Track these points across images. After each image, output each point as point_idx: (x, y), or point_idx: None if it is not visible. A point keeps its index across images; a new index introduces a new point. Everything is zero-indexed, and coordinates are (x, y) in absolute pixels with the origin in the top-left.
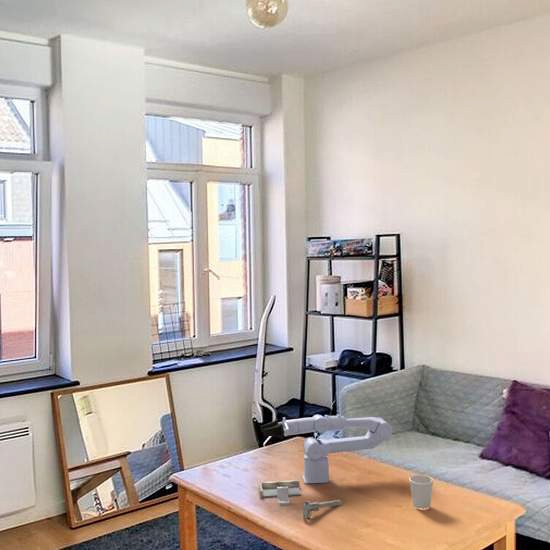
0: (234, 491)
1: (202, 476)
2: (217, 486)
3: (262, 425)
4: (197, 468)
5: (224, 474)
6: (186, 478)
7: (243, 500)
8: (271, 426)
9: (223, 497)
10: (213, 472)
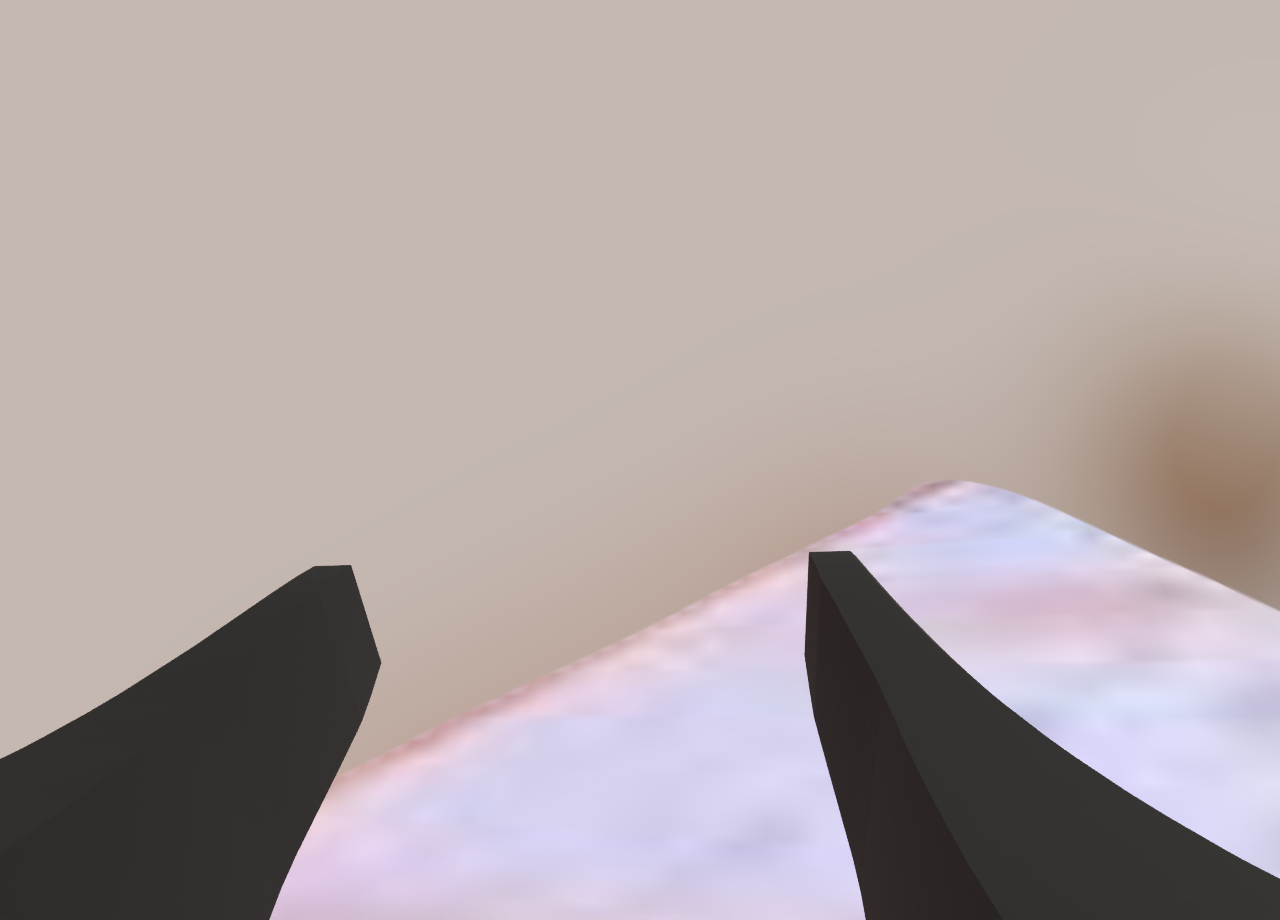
0: (597, 787)
1: (957, 589)
2: (736, 676)
3: (861, 568)
4: (1139, 554)
5: (1029, 721)
6: (910, 522)
7: (380, 846)
8: (895, 835)
9: (510, 712)
10: (1067, 646)
